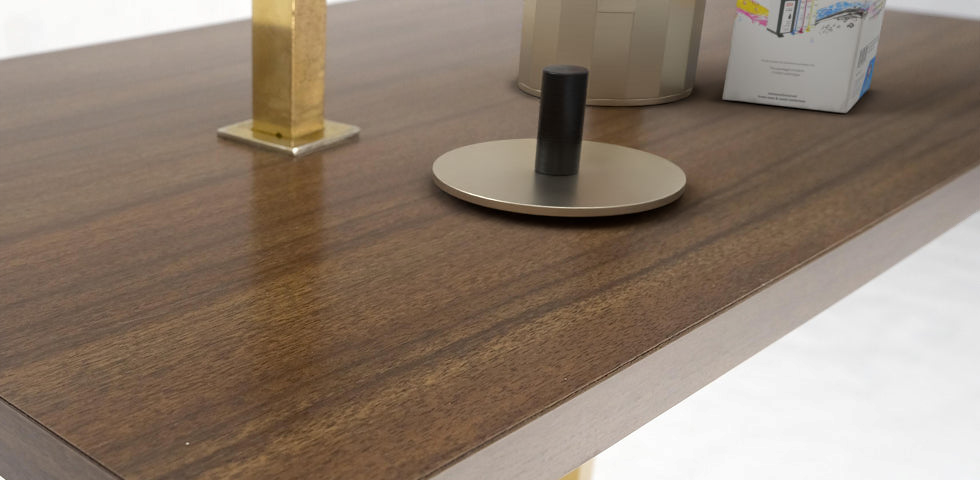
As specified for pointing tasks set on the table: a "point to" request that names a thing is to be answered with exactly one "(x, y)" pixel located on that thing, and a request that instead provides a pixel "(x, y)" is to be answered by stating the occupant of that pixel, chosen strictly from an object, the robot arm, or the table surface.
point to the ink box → (803, 52)
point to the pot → (615, 47)
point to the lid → (559, 164)
